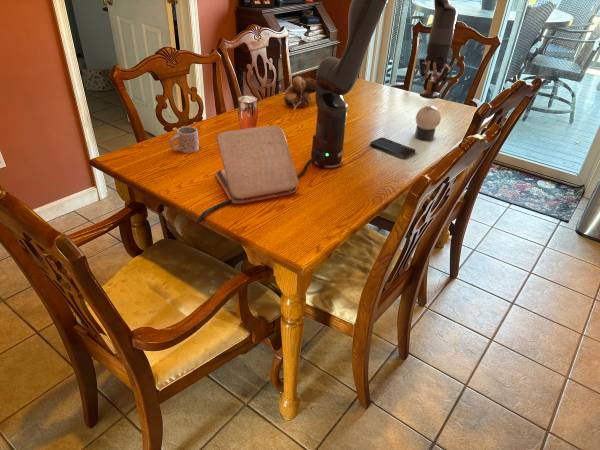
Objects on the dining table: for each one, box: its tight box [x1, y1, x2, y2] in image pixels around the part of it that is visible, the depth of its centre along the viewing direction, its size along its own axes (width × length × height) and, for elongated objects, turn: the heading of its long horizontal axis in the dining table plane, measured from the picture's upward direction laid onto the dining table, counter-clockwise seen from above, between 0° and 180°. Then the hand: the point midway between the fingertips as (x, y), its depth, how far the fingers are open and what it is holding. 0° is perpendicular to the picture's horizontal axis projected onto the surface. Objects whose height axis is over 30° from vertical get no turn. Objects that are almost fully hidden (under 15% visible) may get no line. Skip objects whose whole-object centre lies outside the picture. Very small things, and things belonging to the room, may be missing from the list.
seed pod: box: [283, 75, 316, 111], centre depth 191 cm, size 13×16×15 cm
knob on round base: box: [418, 78, 440, 100], centre depth 161 cm, size 7×7×6 cm
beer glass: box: [237, 95, 259, 130], centre depth 157 cm, size 7×7×15 cm
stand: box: [414, 124, 437, 142], centre depth 170 cm, size 7×7×4 cm
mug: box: [169, 126, 200, 154], centre depth 150 cm, size 10×7×7 cm
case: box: [215, 125, 299, 205], centre depth 130 cm, size 20×21×16 cm
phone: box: [369, 137, 416, 160], centre depth 160 cm, size 8×1×15 cm
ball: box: [415, 105, 442, 130], centre depth 167 cm, size 9×9×9 cm
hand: (429, 91), depth 161 cm, fingers closed on knob on round base, 3 cm apart
